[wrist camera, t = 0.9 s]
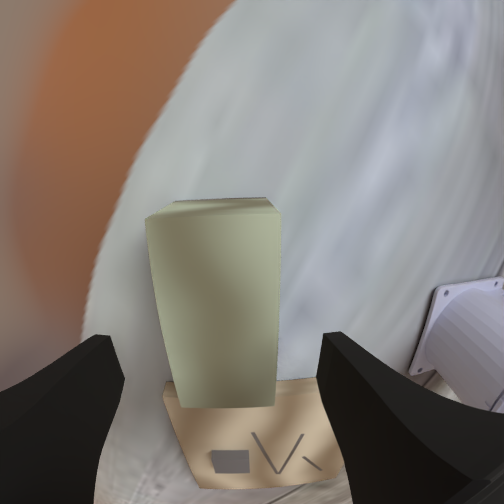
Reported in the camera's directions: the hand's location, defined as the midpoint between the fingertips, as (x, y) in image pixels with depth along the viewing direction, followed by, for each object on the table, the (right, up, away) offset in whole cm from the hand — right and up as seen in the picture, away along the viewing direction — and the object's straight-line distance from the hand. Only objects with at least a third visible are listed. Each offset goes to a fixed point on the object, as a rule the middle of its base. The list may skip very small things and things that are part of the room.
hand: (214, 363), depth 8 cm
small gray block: (-1, -14, +10) cm, 17 cm away
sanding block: (0, +2, +6) cm, 7 cm away
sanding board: (+3, -13, +11) cm, 18 cm away
